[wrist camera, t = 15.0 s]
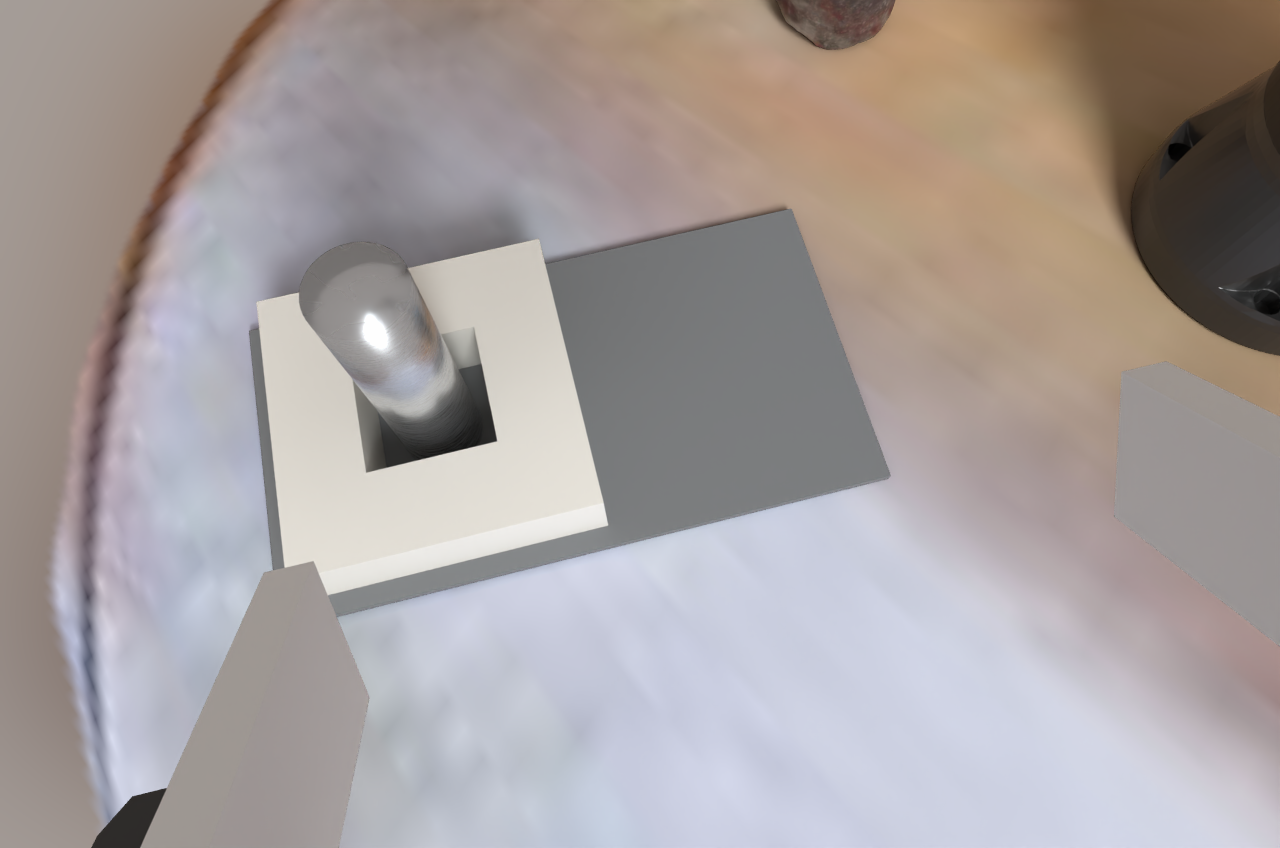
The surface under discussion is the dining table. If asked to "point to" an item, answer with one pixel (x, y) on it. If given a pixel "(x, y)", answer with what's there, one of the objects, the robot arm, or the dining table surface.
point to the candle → (836, 20)
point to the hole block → (445, 484)
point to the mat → (673, 395)
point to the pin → (390, 346)
